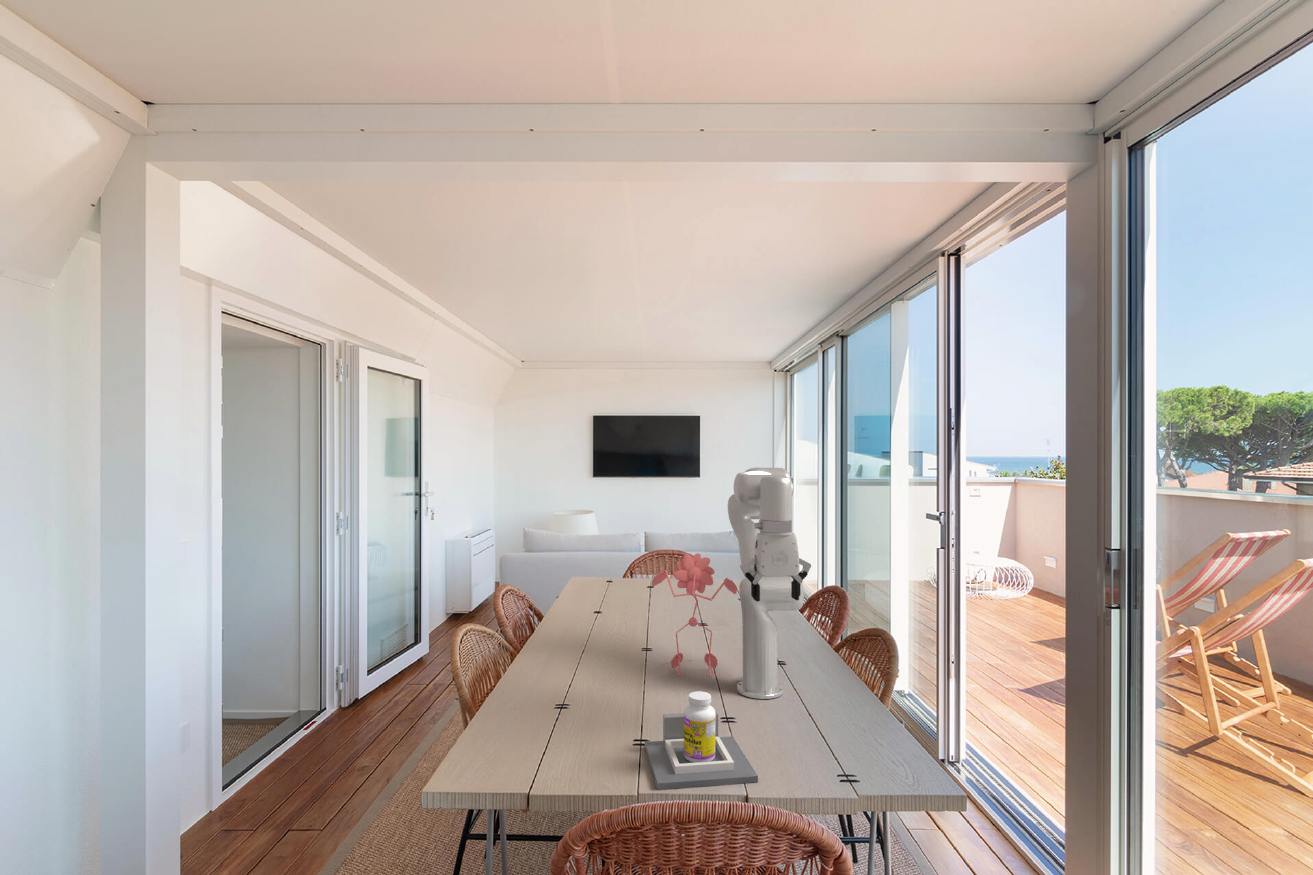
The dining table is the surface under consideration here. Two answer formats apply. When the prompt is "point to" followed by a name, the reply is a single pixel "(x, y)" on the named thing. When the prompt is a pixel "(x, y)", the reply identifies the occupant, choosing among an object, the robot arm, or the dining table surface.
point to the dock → (682, 773)
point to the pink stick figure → (694, 578)
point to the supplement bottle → (699, 728)
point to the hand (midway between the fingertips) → (775, 599)
